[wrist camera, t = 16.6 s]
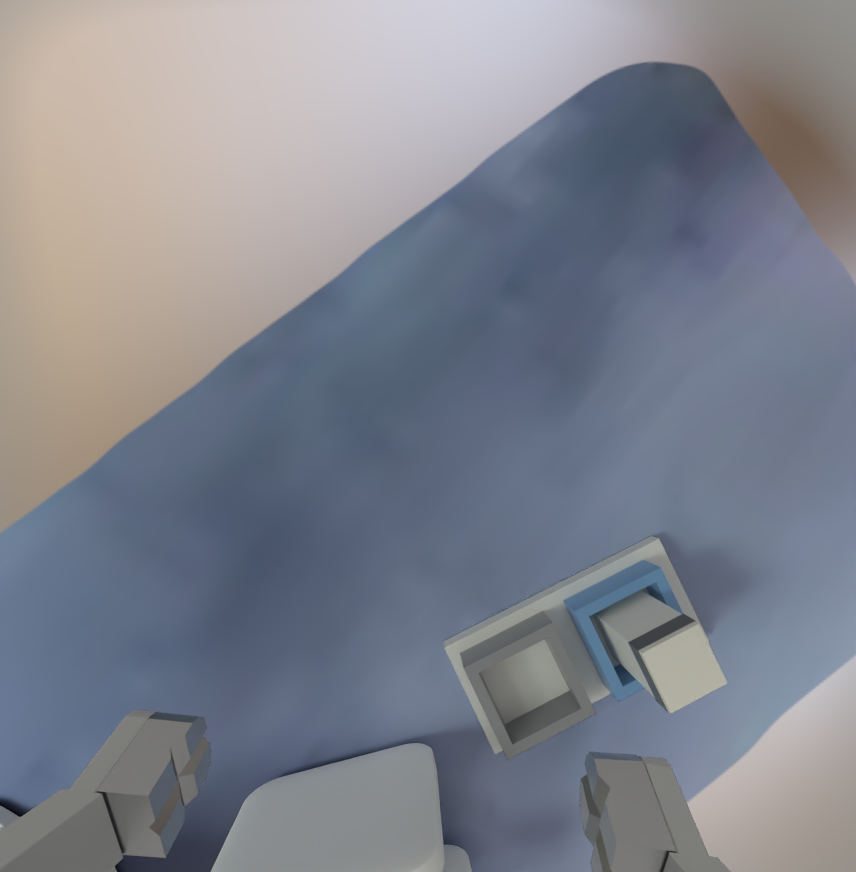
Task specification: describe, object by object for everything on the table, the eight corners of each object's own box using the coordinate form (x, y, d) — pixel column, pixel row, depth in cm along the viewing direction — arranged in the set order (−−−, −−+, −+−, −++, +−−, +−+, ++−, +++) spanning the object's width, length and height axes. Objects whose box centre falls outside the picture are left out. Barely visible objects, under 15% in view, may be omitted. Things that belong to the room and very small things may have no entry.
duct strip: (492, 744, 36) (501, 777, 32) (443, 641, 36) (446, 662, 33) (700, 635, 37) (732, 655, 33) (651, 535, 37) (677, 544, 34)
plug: (611, 656, 36) (670, 714, 28) (588, 608, 36) (640, 653, 28) (657, 632, 36) (728, 683, 28) (634, 585, 36) (699, 622, 28)
